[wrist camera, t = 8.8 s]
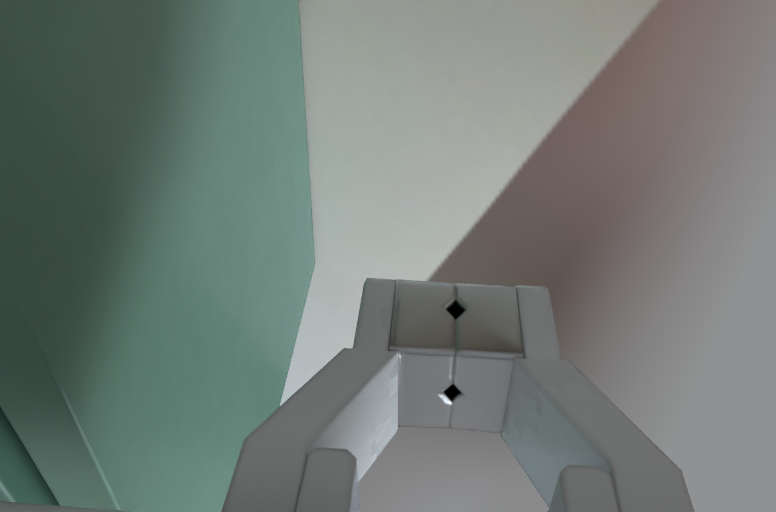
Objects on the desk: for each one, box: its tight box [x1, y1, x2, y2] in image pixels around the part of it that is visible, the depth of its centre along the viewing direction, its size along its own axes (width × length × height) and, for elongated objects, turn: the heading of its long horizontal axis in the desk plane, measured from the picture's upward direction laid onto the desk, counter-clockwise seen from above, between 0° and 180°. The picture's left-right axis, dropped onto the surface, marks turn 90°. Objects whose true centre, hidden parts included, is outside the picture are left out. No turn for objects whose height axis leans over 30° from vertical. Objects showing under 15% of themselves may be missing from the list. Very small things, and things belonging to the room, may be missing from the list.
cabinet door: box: [0, 0, 315, 512], centre depth 15 cm, size 5×20×17 cm, turn 179°
